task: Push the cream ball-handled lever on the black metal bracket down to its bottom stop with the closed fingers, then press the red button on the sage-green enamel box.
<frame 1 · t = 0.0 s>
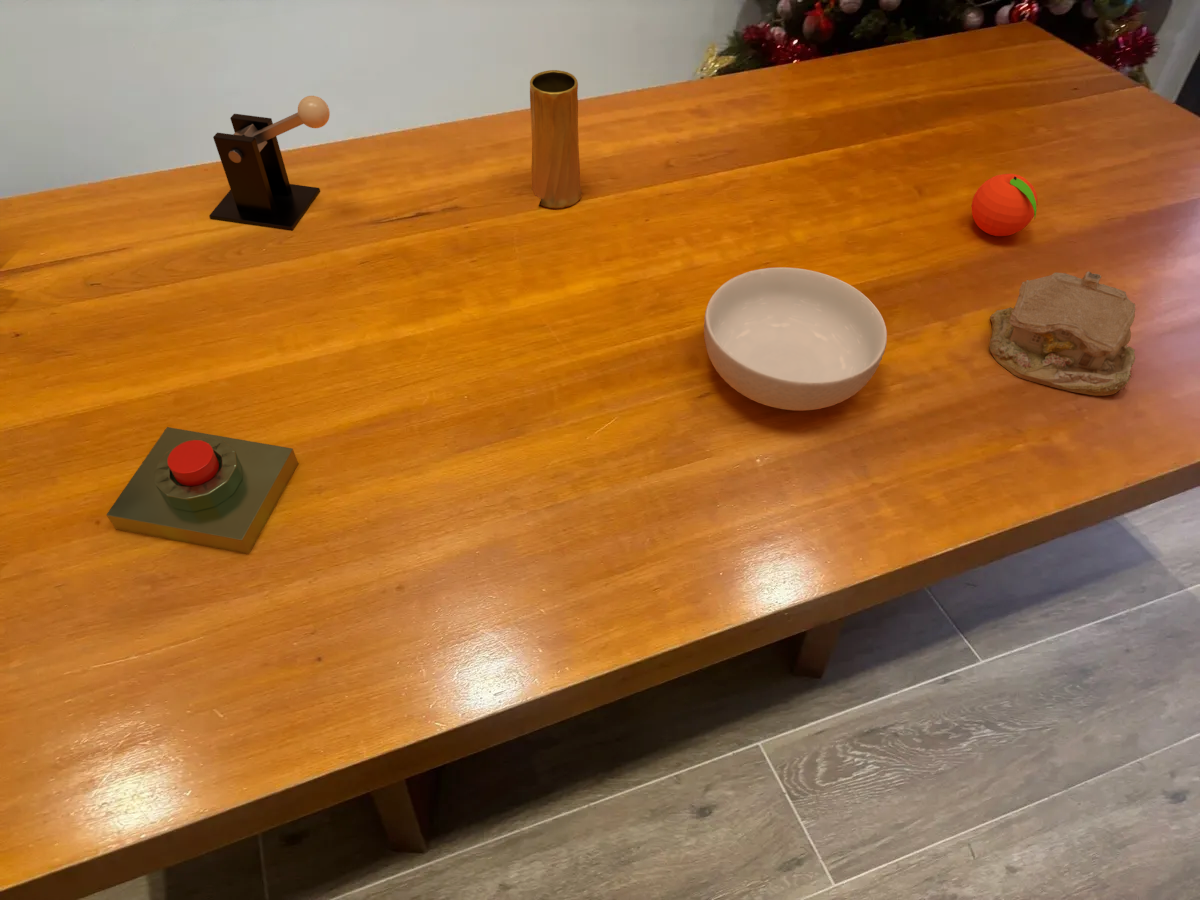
lever: (280, 127, 96), point 11 cm above the table, hinge at 28.0°
vase: (556, 196, 109), on the table
clementine: (995, 234, 106), on the table
bracket: (268, 212, 105), on the table
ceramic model: (1052, 354, 92), on the table
button: (193, 463, 75), point 5 cm above the table, slide at 0.2 cm
button box: (210, 496, 78), on the table
cereal bowl: (782, 375, 90), on the table
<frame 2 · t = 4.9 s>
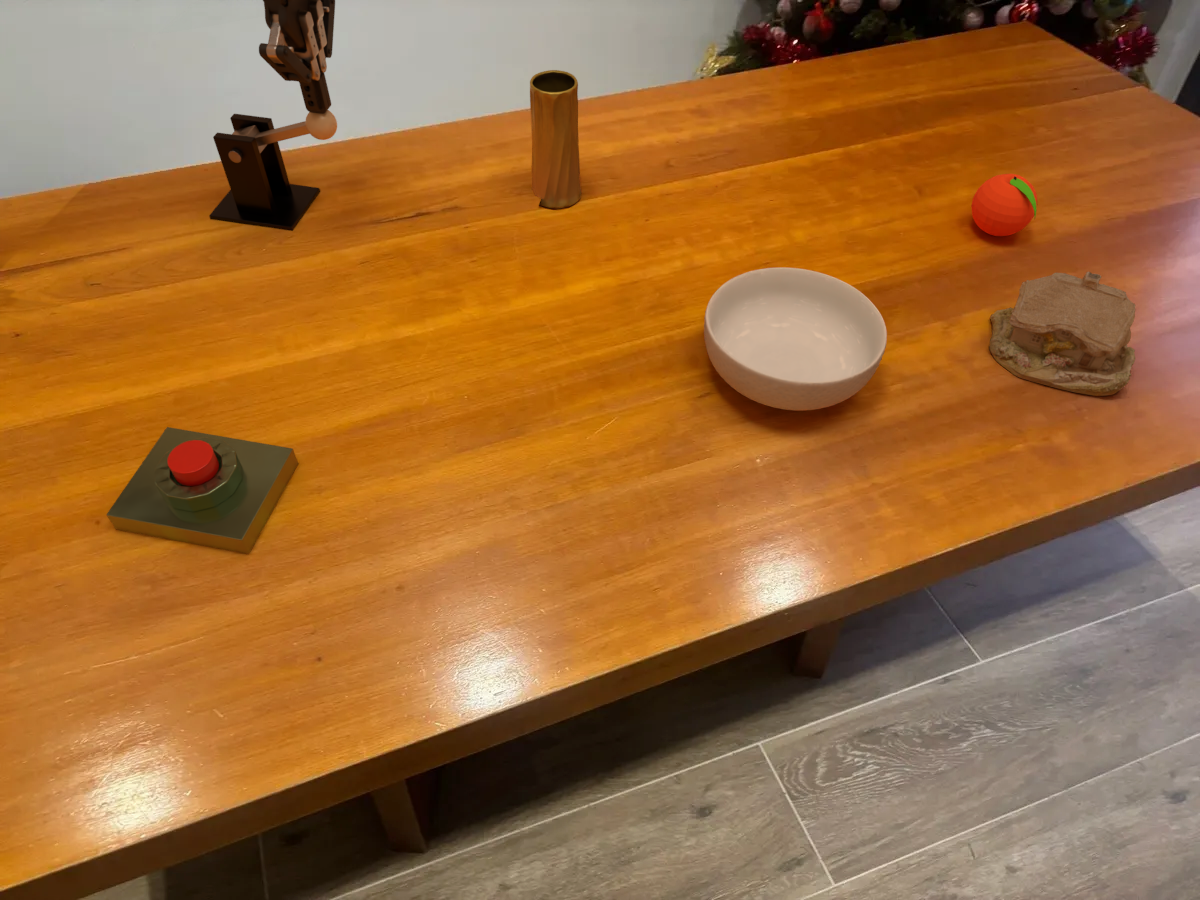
hand: (319, 109, 94), 14 cm above the table, tool pointing down, fingers closed
lever: (284, 133, 97), point 11 cm above the table, hinge at 20.0°
everything else where it was.
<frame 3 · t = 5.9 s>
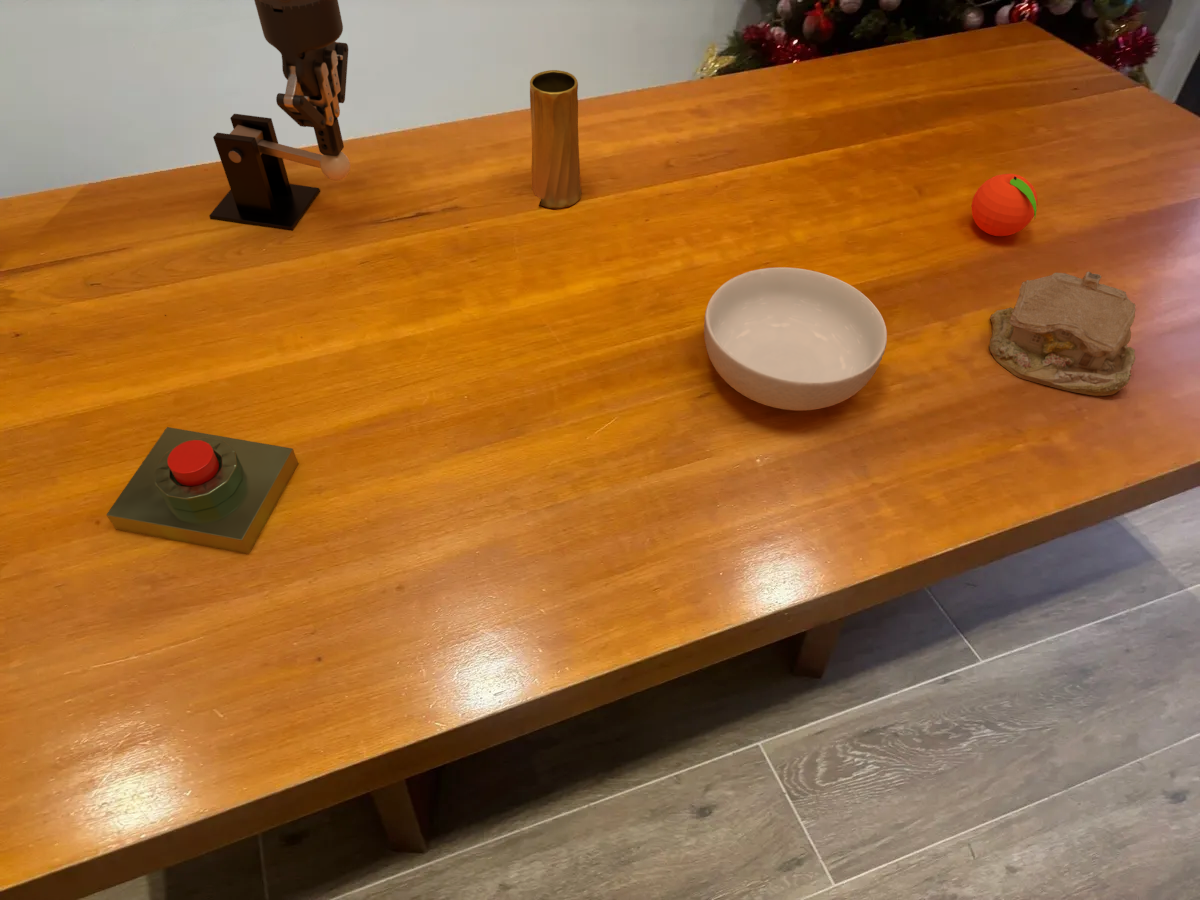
hand: (332, 151, 97), 9 cm above the table, tool pointing down, fingers closed
lever: (292, 154, 98), point 8 cm above the table, hinge at -8.1°, touching gripper
everything else where it was.
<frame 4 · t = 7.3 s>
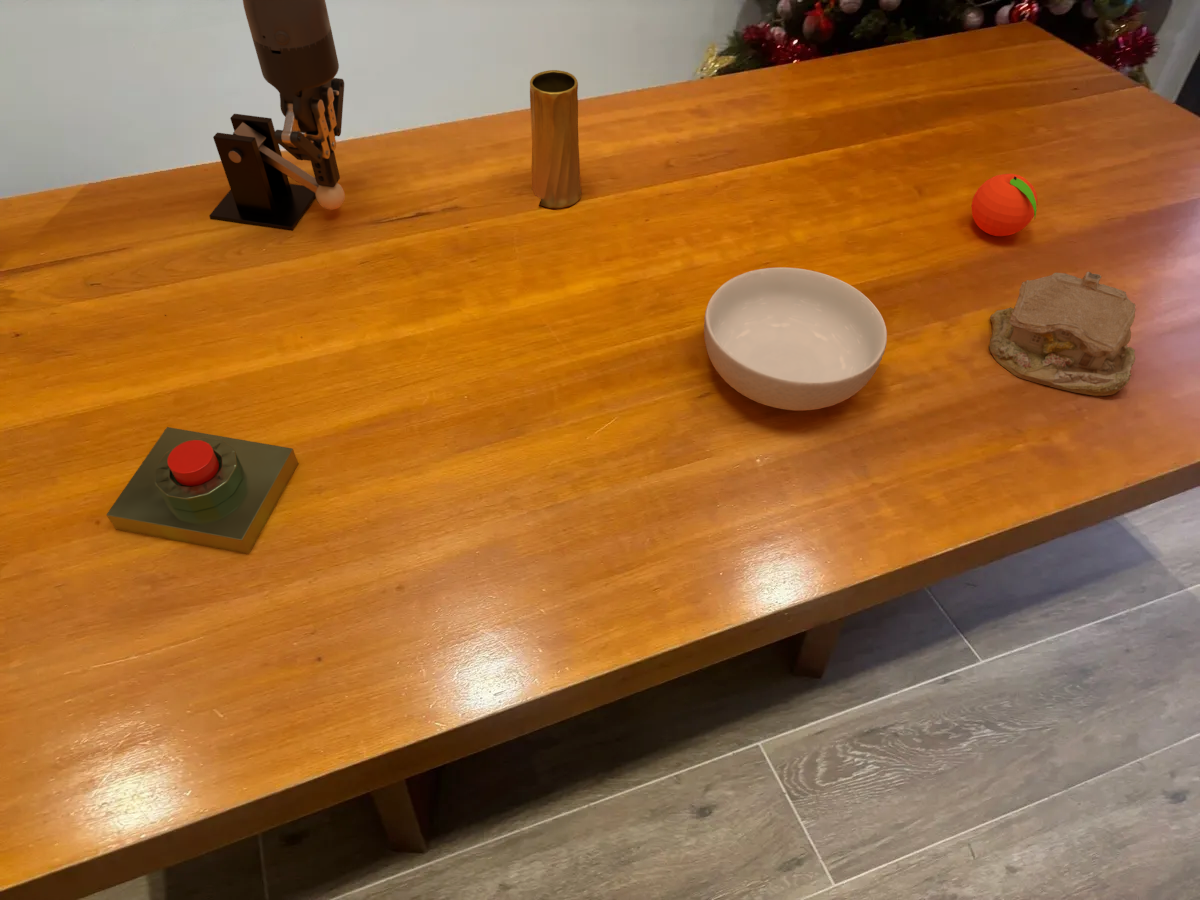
hand: (328, 182, 100), 5 cm above the table, tool pointing down, fingers closed
lever: (290, 169, 100), point 6 cm above the table, hinge at -32.7°, touching gripper
everything else where it was.
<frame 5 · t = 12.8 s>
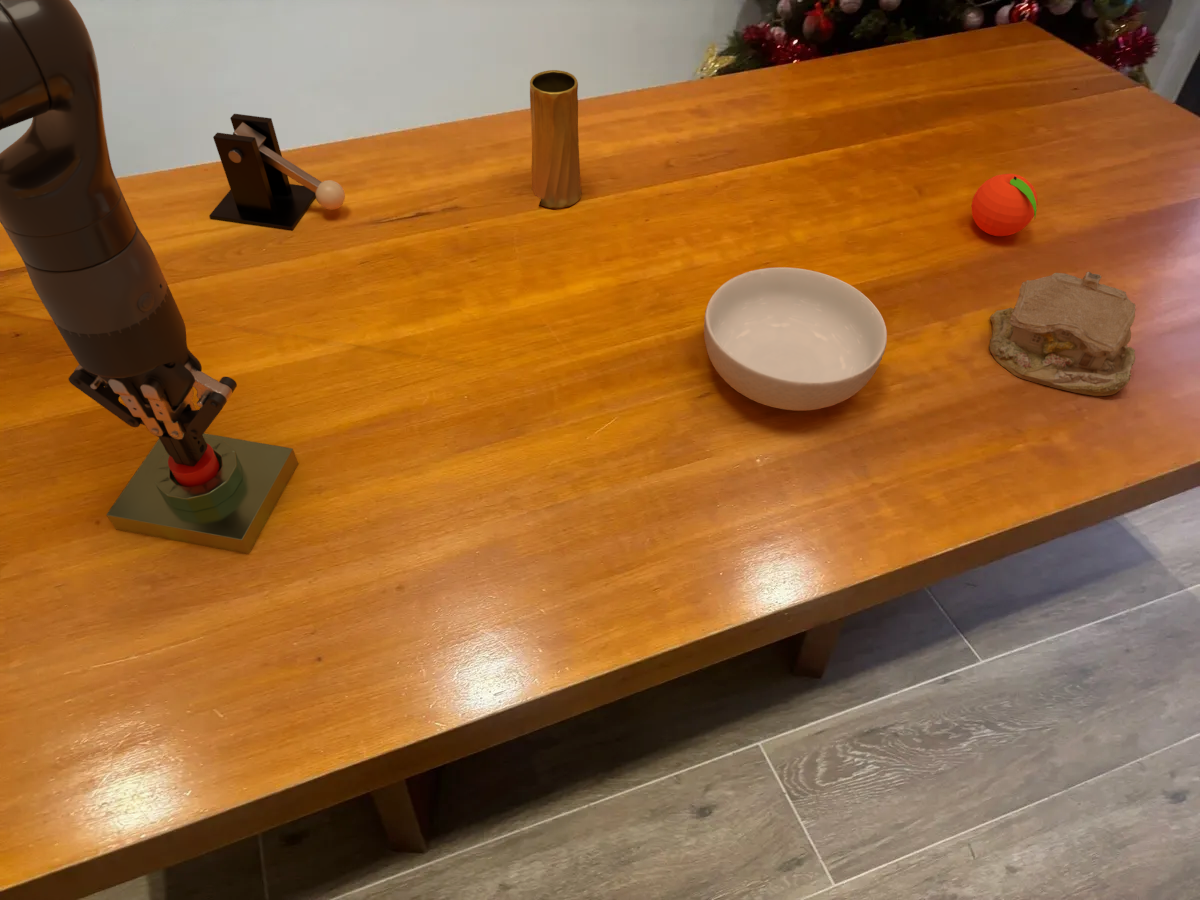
hand: (191, 457, 74), 5 cm above the table, tool pointing down, fingers closed
lever: (290, 169, 100), point 6 cm above the table, hinge at -32.6°
button: (194, 463, 75), point 4 cm above the table, slide at 0.0 cm, touching gripper
everything else where it was.
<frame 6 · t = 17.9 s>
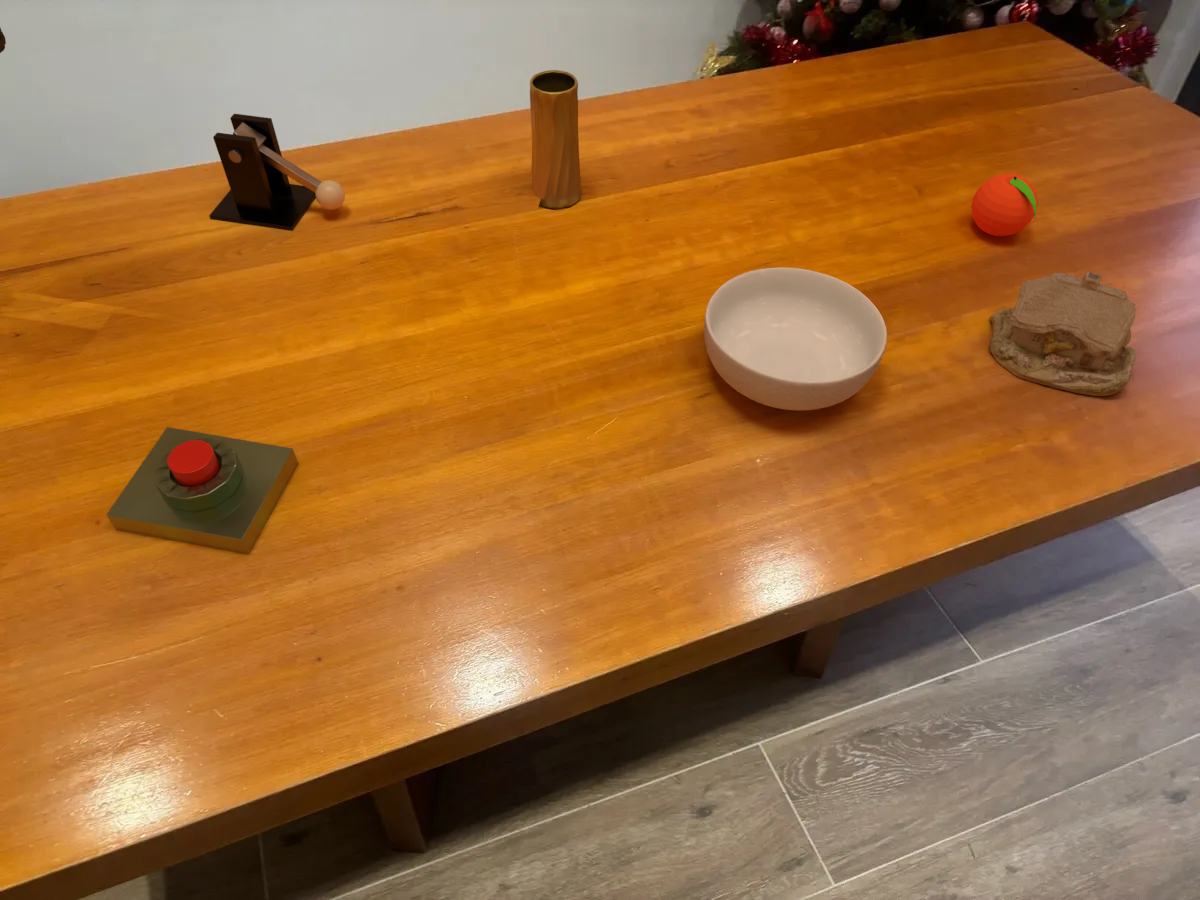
button: (193, 463, 75), point 5 cm above the table, slide at 0.2 cm
everything else where it was.
at the end: lever at -33° (first picture: +28°); button pushed in 1.0 cm at the most during the clip, back to 0.2 cm at the end; button slide at 0.2 cm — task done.
